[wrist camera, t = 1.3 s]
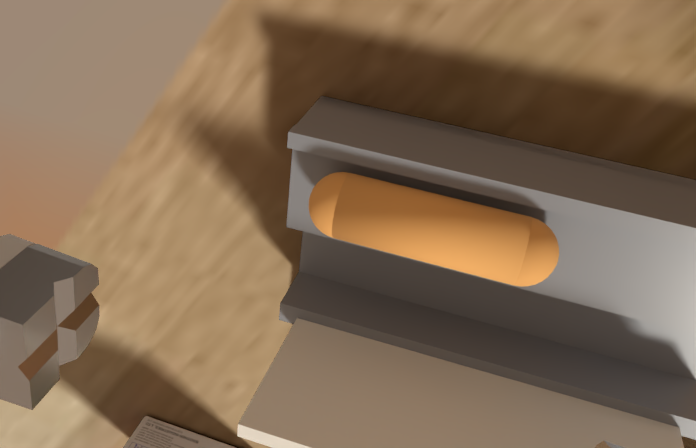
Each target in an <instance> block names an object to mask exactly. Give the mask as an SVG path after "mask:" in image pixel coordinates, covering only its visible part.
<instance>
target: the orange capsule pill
mask: <svg viewBox="0 0 696 448" xmlns="http://www.w3.org/2000/svg"><path fill="white" fill-rule="evenodd" d="M309 213H310V217H311V219H312V221H313V223H314V225H315V226H316V227H317V228H318V229H319V230H320V231H321V232H322V233H324V234H325V235H327V236H329V237H332V238H335V239H339V240H342V241H346V242H350V243H354V244H358V245H361V246H365V247H369V248H373V249H377V250H380V251H384V252H388V253H392V254H396V255H399V256H403V257H407V258H411V259H415V260H419V261H422V262H426V263H430V264H434V265H438V266H441V267H445V268H449V269H453V270H457V271H460V272H464V273H468V274H472V275H476V276H479V277H483V278H487V279H491V280H495V281H499V282H502V283H506V284H510V285H514V286H531V285H535V284H538V283H540V282H542V281H543V280H545V279H546V278H547V277H548V276H549V275H550V274H551V273H552V272H553V270H554V269H555V267H556V265H557V262H558V259H559V245H558V241H557V238H556V236H555V234H554V233H553V231H552V230H551V229H550V228H549V227H548V226H547V225H546V224H545V223H543V222H542V221H540V220H538V219H536V218H533V217H530V216H526V215H521V214H517V213H513V212H509V211H505V210H501V209H497V208H493V207H489V206H485V205H480V204H476V203H472V202H468V201H464V200H460V199H456V198H452V197H448V196H444V195H439V194H435V193H431V192H427V191H423V190H419V189H415V188H411V187H407V186H403V185H398V184H394V183H390V182H386V181H382V180H378V179H374V178H370V177H366V176H362V175H357V174H353V173H348V172H336V173H332V174H329V175H327V176H325V177H324V178H322V179H321V180H320V181H319V182H318V183H317V184H316V185H315V186H314V188H313V190H312V192H311V194H310V197H309Z"/></svg>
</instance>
